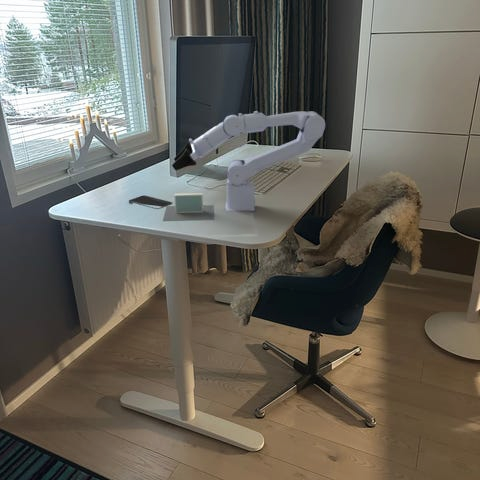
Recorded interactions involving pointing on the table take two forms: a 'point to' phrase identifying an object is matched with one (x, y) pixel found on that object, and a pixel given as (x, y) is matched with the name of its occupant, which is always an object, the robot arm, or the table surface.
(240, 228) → the table surface
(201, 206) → the card box
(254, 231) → the table surface
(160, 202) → the phone
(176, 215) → the desk mat
